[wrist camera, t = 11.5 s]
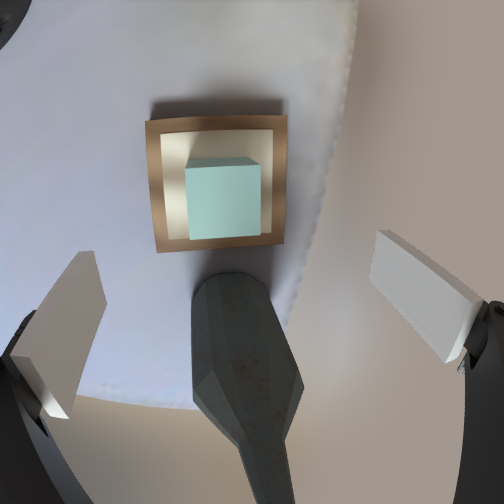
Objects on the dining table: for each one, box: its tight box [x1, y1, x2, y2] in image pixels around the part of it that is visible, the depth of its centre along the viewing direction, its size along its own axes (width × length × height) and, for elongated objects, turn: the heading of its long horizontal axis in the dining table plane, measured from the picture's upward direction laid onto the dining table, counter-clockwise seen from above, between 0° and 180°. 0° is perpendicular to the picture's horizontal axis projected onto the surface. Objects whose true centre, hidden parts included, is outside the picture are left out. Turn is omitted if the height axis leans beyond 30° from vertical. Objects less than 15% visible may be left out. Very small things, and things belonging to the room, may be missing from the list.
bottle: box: [191, 273, 304, 504], centre depth 25 cm, size 10×10×30 cm
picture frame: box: [145, 115, 287, 253], centre depth 30 cm, size 14×14×3 cm
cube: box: [185, 157, 261, 240], centre depth 26 cm, size 6×6×6 cm
